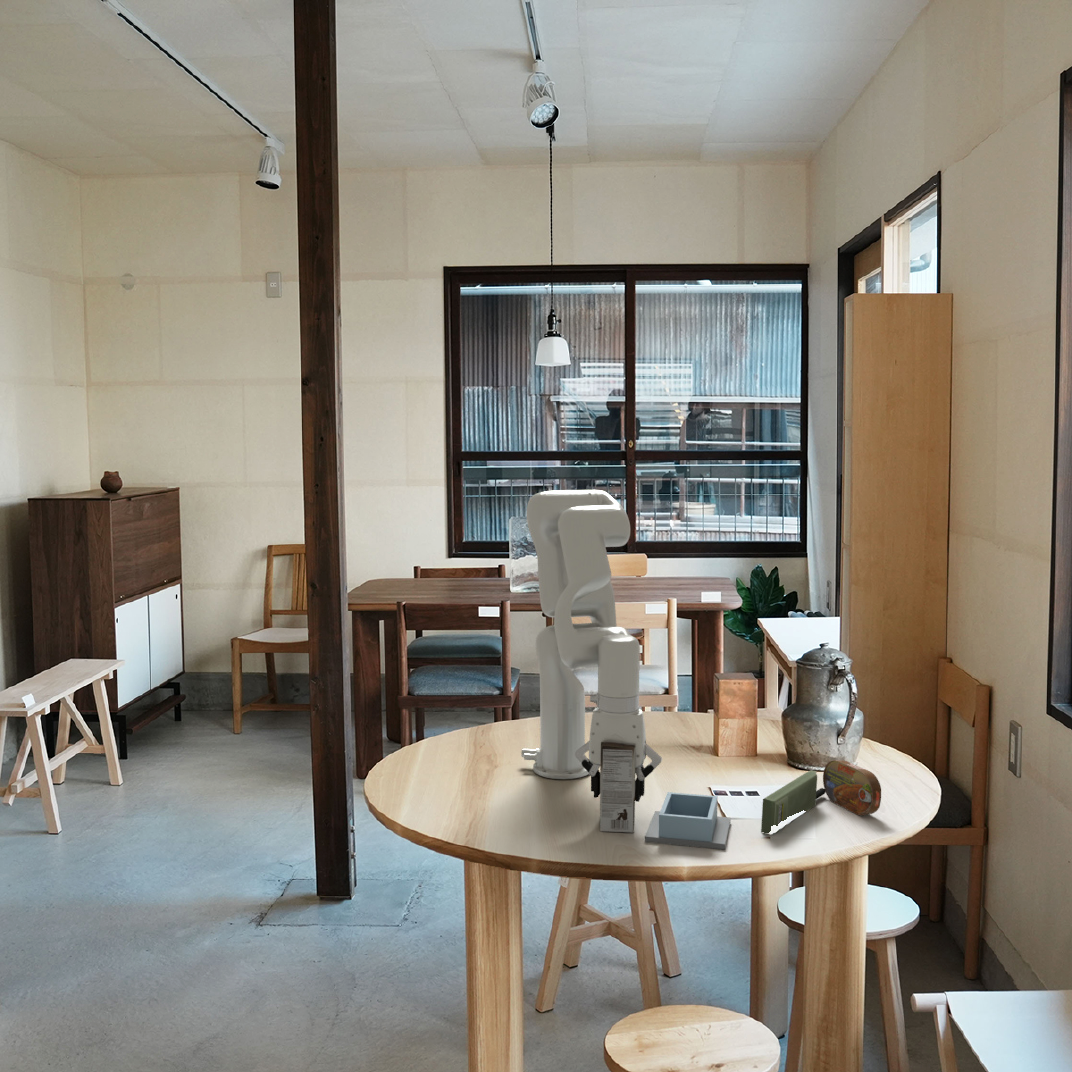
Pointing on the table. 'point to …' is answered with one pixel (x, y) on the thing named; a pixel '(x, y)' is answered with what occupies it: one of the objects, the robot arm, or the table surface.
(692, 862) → the table surface
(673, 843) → the light blue open box
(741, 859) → the table surface
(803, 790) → the handheld radio
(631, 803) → the coffee box
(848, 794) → the tin
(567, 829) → the table surface
